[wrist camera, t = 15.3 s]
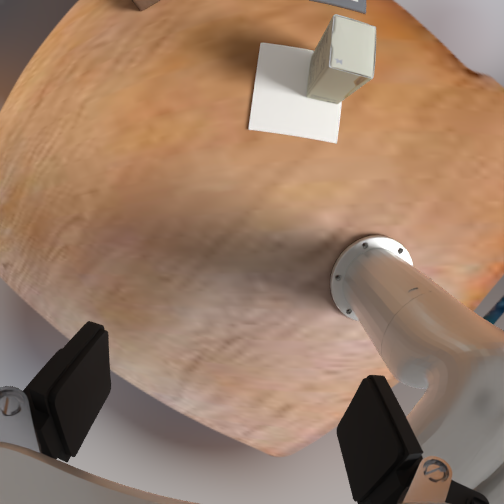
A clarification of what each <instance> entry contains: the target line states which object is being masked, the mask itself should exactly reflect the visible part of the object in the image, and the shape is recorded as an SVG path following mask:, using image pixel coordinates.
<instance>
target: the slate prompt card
mask: <svg viewBox="0 0 504 504" xmlns="http://www.w3.org/2000/svg"><path fill="white" fill-rule="evenodd" d="M310 1H315V2H320V3H325V4H329V5H333V6H338V7H342V8H345V9H349V10H353V11H357V12H360V13H363V14H365V13H366V0H310Z"/></svg>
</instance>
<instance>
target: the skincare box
mask: <svg viewBox="0 0 504 504" xmlns="http://www.w3.org/2000/svg"><path fill="white" fill-rule="evenodd" d="M375 57H376V27H375V26H372V25H369V24H366V23H363V22H360V21H357V20H354V19H351V18H348V17H344V16H340V15H337V14H335V15H334V16H333V17H332V19H331V21H330V23H329V25H328V27H327V28H326V30H325V32H324V34H323V36H322V38H321V40H320V41H319V43H318V45H317V47H316V49H315V51H314V53H313V54H312V56H311V61H310V68H309V75H308V83H307V94H306V97H307V98H311V99H316V100H320V101H324V102H329V103H334V104H339V103H340V102H342V101H343V100H344V99H346V98H347V97H348V96H349V95H351V94H352V93H354V92H355V91H356V90H358V89H359V88H360V87H362V86H363V85H364V84H366V83H367V82H368V81H370V80H371V79H373V76H374V69H375Z"/></svg>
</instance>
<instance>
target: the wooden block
mask: <svg viewBox="0 0 504 504" xmlns="http://www.w3.org/2000/svg"><path fill="white" fill-rule="evenodd" d="M132 1H133V2H134V3H135V5H136V6H137V7H138V8H139V10H141V11H143V10H145V9H146V8H148V7H150V6H151V5H153V4H155V3H156V2H158V1H160V0H132Z"/></svg>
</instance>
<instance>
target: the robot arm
mask: <svg viewBox="0 0 504 504" xmlns="http://www.w3.org/2000/svg"><path fill="white" fill-rule="evenodd" d="M363 243H364V245H363V246H362V244H363ZM398 249H399V250H398ZM336 275H338V277H336ZM330 289H331V294H332V297H333V300H334V302H335V304H336V306H337V307H338V308H339V310H340V311H341V312H342V313H343V314H344V315H345V316H347V317H349V318H351V319H353V320H356V321H360V323H361V324H362V326H363V328H364V329H365V331H366V332H367V334H368V336H369V337H370V339H371V341H372V342H373V344H374V346H375V347H376V349H377V351H378V352H379V354H380V356H381V357H382V359H383V361H384V362H385V364H386V366H387V367H388V369H389V371H390V372H391V373H392V375H393V376H394V377H395V378H396V379H397V380H399V381H400V382H402V383H404V384H405V385H408V386H411V387H415V388H424V389H427V390H426V392H425V394H424V395H423V397H422V398H421V399H420V400H419V402H418V403H417V404H416V406H414V408H413V410H412V411H411V412H410V413H409V414H408V416H407V417H406V416H405V414H404V412H403V410H402V409H401V407H400V405H399V403H398V401H397V399H396V397H395V395H394V393H393V391H392V389H391V388H390V386H389V384H388V382H387V380H386V378H385V377H384V376H379V375H369V376H368V377H367V378H365V379H363V380H362V382H361V384H360V386H359V388H358V390H357V392H356V394H355V396H354V397H353V399H352V401H351V403H350V405H349V407H348V409H347V410H346V412H345V414H344V416H343V417H342V419H341V421H340V423H339V424H338V427H337V437H338V440H339V444H340V448H341V452H342V456H343V459H344V463H345V468H346V471H347V475H348V480H349V484H350V488H351V491H352V496H353V499H354V501H357V502H358V504H504V330H502V329H500V328H498V327H496V326H495V325H493V324H491V323H490V322H488V321H487V320H485V319H483V318H482V317H480V316H479V315H477V314H476V313H475V312H473V311H472V310H470V309H469V308H468V307H466V306H465V305H464V304H462V303H461V302H460V301H458V300H457V299H456V298H455V297H453V296H452V295H451V294H449V293H448V292H447V291H445V290H444V289H443V288H442V287H440V286H439V285H438V284H436V283H435V282H434V281H432V279H431V278H428V277H427V276H426V275H424V274H423V273H422V272H420V271H419V270H417V269H416V268H415V267H413V262H412V259H411V257H410V254H409V253H408V251H407V250H406V248H405V247H404V246H403V245H401V244H400V243H399V242H398V241H396V240H394V239H392V238H390V237H387V236H381V235H373V236H368V237H364V238H361V239H359V240H357V241H355V242H354V243H352V244H351V245H350V246H348V247H347V248H346V249H345V250H344V251H343V252H342V253H341V255H340V256H339V258H338V259H337V261H336V263H335V265H334V267H333V270H332V274H331V279H330ZM347 309H348V310H347ZM110 390H111V379H110V364H109V342H108V331H106V330H104V326H103V325H100V324H97V323H94V322H90V321H88V322H87V323H86V324H85V325H84V326H83V327H82V328H81V329H80V330H79V331H78V332H77V334H76V335H75V336H74V337H73V338H72V339H71V340H70V341H69V342H68V343H67V344H66V346H65V347H64V348H63V349H60V350H59V351H58V352H56V354H55V355H54V356H53V357H52V358H51V359H50V360H49V361H48V362H47V364H46V365H45V366H44V367H43V368H42V369H41V370H40V372H39V373H38V374H37V375H36V376H35V377H34V379H33V380H32V381H31V382H30V383H29V384H28V386H27V387H26V388H25V389H24V390H23V391H22V390H20V389H19V388H16V387H13V386H12V387H11V386H5V387H0V504H198V503H193V502H188V501H183V500H177V499H173V498H168V497H164V496H160V495H156V494H152V493H149V492H145V491H142V490H138V489H135V488H131V487H128V486H125V485H122V484H119V483H116V482H113V481H110V480H107V479H104V478H101V477H98V476H96V475H93V474H90V473H88V472H85V471H83V470H80V469H78V468H75V467H73V466H70V465H68V464H66V463H63V462H61V461H58V460H56V459H57V458H59V459H61V460H63V461H65V462H68V461H69V459H70V457H71V456H72V457H75V456H76V454H77V453H78V450H79V449H80V447H81V445H82V443H83V441H84V439H85V437H86V435H87V434H88V431H89V430H90V428H91V426H92V424H93V422H94V420H95V419H96V417H97V415H98V413H99V411H100V409H101V408H102V406H103V404H104V402H105V400H106V399H107V397H108V395H109V393H110Z"/></svg>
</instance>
